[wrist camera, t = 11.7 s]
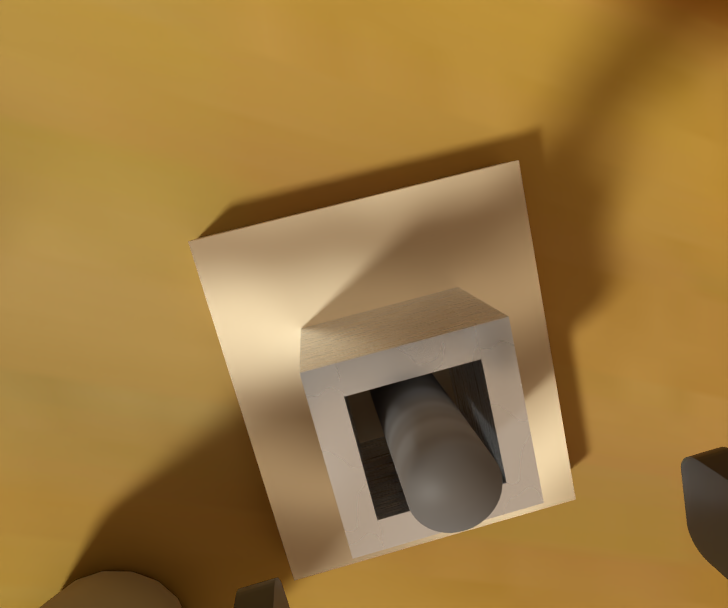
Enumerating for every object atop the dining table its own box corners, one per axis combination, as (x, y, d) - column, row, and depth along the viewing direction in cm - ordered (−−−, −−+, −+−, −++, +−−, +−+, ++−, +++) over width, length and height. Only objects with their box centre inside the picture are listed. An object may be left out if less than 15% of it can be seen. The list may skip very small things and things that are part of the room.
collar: (300, 328, 19) (299, 373, 14) (457, 286, 20) (508, 316, 15) (341, 472, 21) (352, 558, 16) (488, 431, 21) (543, 502, 16)
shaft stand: (197, 238, 20) (109, 271, 11) (503, 162, 20) (653, 136, 12) (294, 555, 23) (288, 781, 14) (558, 480, 23) (711, 650, 15)
